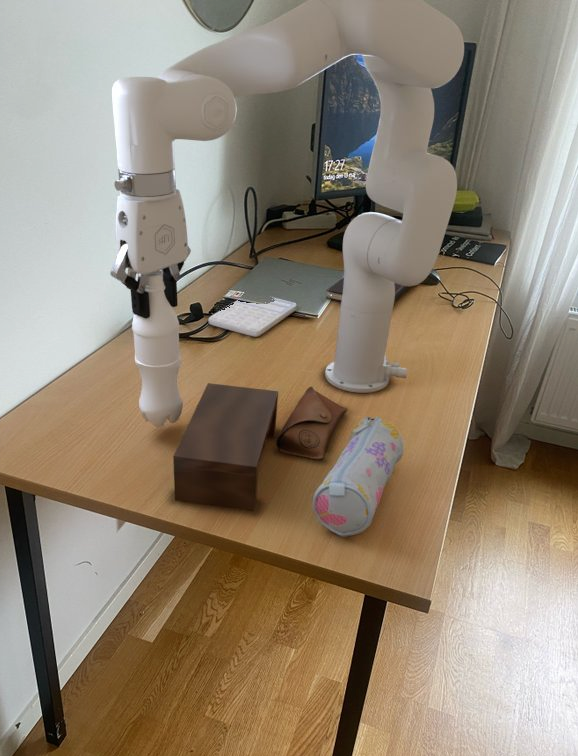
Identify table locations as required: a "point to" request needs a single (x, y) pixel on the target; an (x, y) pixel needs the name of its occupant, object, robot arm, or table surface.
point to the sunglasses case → (310, 426)
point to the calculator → (252, 316)
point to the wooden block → (225, 446)
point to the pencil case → (358, 478)
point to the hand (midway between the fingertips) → (155, 308)
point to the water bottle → (158, 356)
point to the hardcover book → (338, 291)
